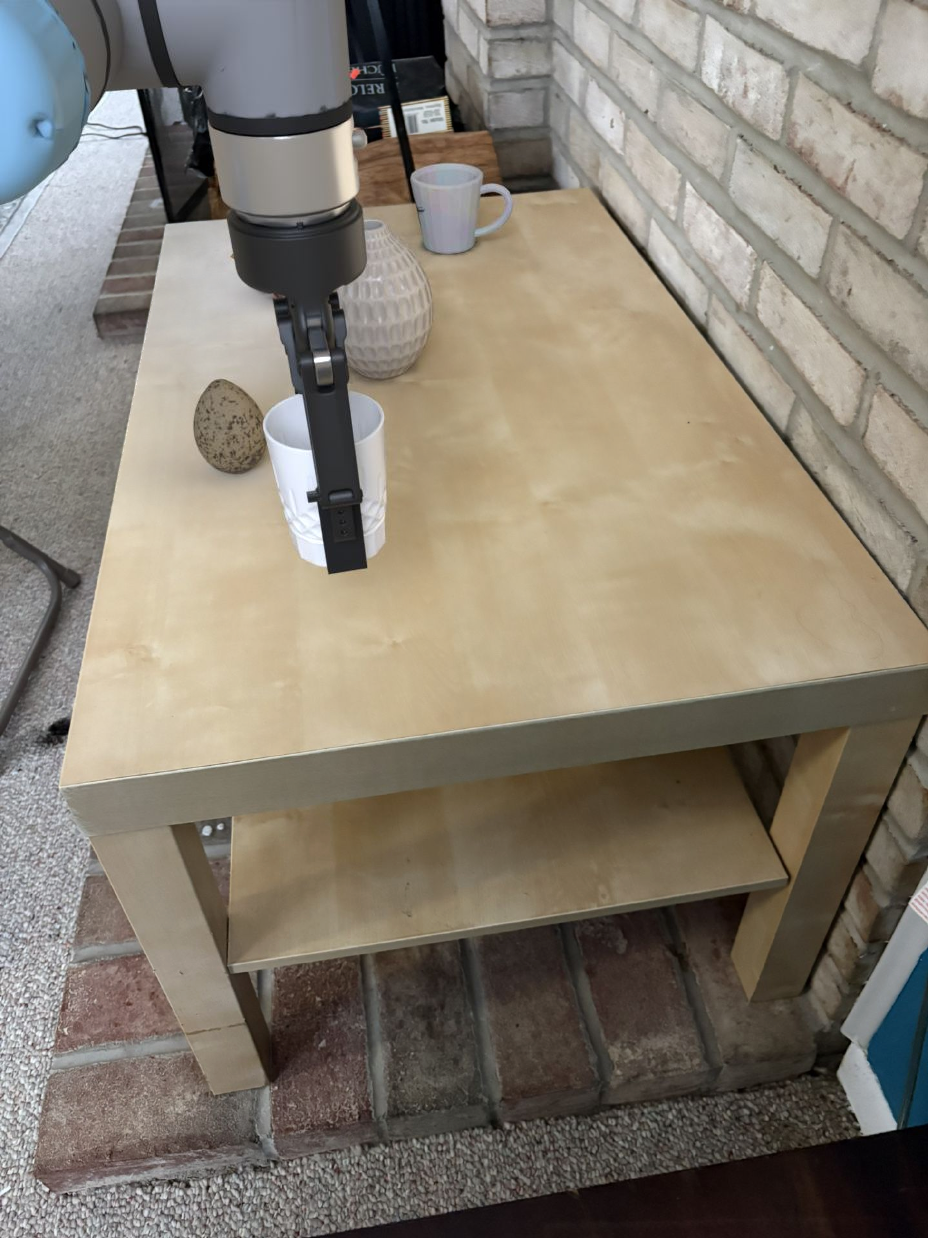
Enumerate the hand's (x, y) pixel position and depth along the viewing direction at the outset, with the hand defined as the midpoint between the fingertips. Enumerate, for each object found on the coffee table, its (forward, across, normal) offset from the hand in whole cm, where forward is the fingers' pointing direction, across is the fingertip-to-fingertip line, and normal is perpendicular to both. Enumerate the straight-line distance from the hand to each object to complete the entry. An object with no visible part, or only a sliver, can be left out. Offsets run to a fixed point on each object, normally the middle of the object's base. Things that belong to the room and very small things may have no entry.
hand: (339, 532), depth 66 cm
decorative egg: (+13, +30, +8) cm, 34 cm away
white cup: (+1, 0, 0) cm, 1 cm away
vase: (+12, +48, -10) cm, 50 cm away
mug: (+12, +82, -29) cm, 87 cm away
